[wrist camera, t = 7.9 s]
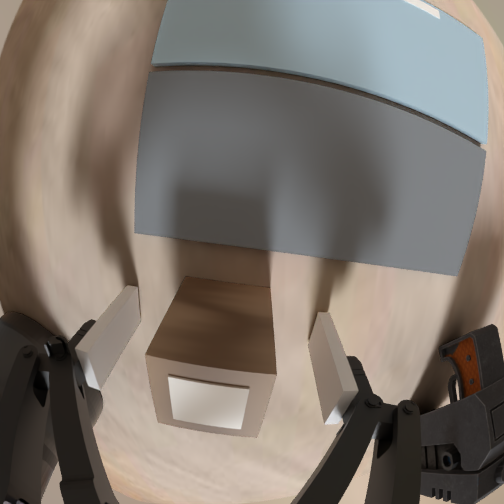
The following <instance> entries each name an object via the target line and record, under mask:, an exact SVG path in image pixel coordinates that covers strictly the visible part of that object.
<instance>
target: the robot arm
mask: <svg viewBox="0 0 504 504" xmlns="http://www.w3.org/2000/svg"><path fill="white" fill-rule="evenodd" d="M140 322H141V319H140V309H139V297H138V287H135V286H130V285H127V286H126V287H125V288H124V289H123V291H122V292H121V293H120V294H119V295H118V296H117V297H116V299H115V300H114V301H113V302H112V303H111V304H110V306H109V307H108V308H107V309H106V310H105V312H104V313H103V314H102V315H101V316H100V318H99V319H98V320H97V321H95V320H92V319H91V320H89V321H88V322H86V323H84V324H83V325H82V327H81V328H80V330H78V331H77V333H76V334H75V335H74V336H73V337H72V339H71V340H70V341H69V342H68V343H67V340H66V339H65V338H64V337H62V336H57V335H55V336H53V335H52V334H51V333H50V332H48V331H47V330H46V329H45V328H43V327H42V326H41V325H39V324H38V323H37V322H35V321H34V320H32V319H30V318H28V317H27V316H25V315H22V314H20V313H16V312H8V313H6V314H4V315H3V316H2V317H1V318H0V504H41V499H42V497H43V494H44V492H45V489H46V487H47V485H48V482H49V480H50V477H51V475H52V473H53V471H54V468H55V466H56V464H57V462H58V461H59V466H60V471H61V475H62V481H61V482H60V490H61V494H62V497H63V501H64V504H119V502H118V501H117V499H116V498H115V496H114V493H113V491H112V488H111V486H110V483H109V480H108V478H107V475H106V472H105V469H104V466H103V463H102V460H101V457H100V454H99V450H98V447H97V444H96V440H95V436H94V432H93V426H94V425H95V424H96V422H97V420H98V418H99V416H100V414H101V412H102V409H103V401H102V398H101V395H100V392H99V390H101V388H102V387H103V385H104V383H105V381H106V379H107V378H108V376H109V374H110V372H111V371H112V369H113V367H114V365H115V364H116V362H117V360H118V359H119V357H120V355H121V354H122V352H123V350H124V348H125V347H126V345H127V343H128V342H129V340H130V338H131V337H132V335H133V334H134V332H135V330H136V329H137V327H138V325H139V324H140ZM308 348H309V352H310V357H311V362H312V366H313V371H314V376H315V380H316V385H317V390H318V395H319V400H320V405H321V410H322V415H323V420H324V424H338V423H339V422H340V420H341V419H342V418H343V422H344V424H343V426H342V427H341V429H340V430H339V431H338V433H337V434H336V435H337V436H336V438H335V439H334V441H333V443H332V444H331V446H330V448H329V449H328V451H327V453H326V454H325V456H324V457H323V459H322V460H321V462H320V463H319V465H318V467H317V468H316V470H315V471H314V472H313V474H312V475H311V477H310V478H309V480H308V481H307V482H306V484H305V485H304V487H303V488H302V489H301V491H300V492H299V493H298V495H297V496H296V497H295V499H294V500H293V501H292V503H291V504H338V503H339V501H340V500H341V498H342V496H343V494H344V493H345V491H346V489H347V487H348V486H349V484H350V482H351V480H352V478H353V476H354V474H355V472H356V471H357V469H358V467H359V465H360V462H361V460H362V458H363V456H364V454H365V452H366V450H367V447H368V445H369V443H370V441H371V439H375V443H374V451H373V459H372V466H371V472H370V478H369V484H368V489H367V494H366V499H365V504H419V501H420V488H421V425H420V411H419V407H418V406H417V405H416V403H414V402H413V401H410V400H403V401H401V402H400V403H399V404H398V405H391V404H386V403H383V400H382V399H381V398H380V397H379V396H377V395H376V394H373V392H372V389H371V386H370V384H369V381H368V379H367V376H365V371H364V370H363V367H362V364H361V362H360V361H359V360H358V359H357V358H356V357H355V356H346V354H345V351H344V349H343V346H342V344H341V341H340V338H339V336H338V333H337V330H336V328H335V325H334V323H333V320H332V318H331V315H330V313H326V312H318V314H317V318H316V321H315V324H314V327H313V331H312V334H311V337H310V340H309V343H308Z"/></svg>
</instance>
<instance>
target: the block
mask: <svg viewBox="0 0 504 504" xmlns="http://www.w3.org/2000/svg"><path fill="white" fill-rule="evenodd" d="M145 358H146V364H147V370H148V376H149V382H150V387H151V393H152V398H153V402H154V407H155V412H156V416H157V420H158V423H162V424H167V425H171V426H176V427H181V428H186V429H191V430H197V431H203V432H209V433H216V434H224V435H232V436H242V437H254V438H257V437H258V434H259V431H260V428H261V425H262V422H263V419H264V415H265V412H266V409H267V406H268V403H269V399H270V396H271V393H272V389H273V386H274V383H275V379H276V376H277V371H276V356H275V342H274V328H273V315H272V302H271V289H270V288H268V287H260V286H252V285H245V284H237V283H229V282H222V281H215V280H208V279H201V278H194V277H187V276H186V277H185V279H184V281H183V283H182V285H181V286H180V288H179V290H178V292H177V294H176V296H175V298H174V299H173V301H172V303H171V305H170V307H169V309H168V311H167V313H166V314H165V316H164V318H163V320H162V322H161V324H160V326H159V328H158V330H157V332H156V334H155V336H154V338H153V340H152V342H151V344H150V346H149V348H148V350H147V352H146V354H145Z"/></svg>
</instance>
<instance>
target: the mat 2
mask: <svg viewBox="0 0 504 504" xmlns="http://www.w3.org/2000/svg"><path fill="white" fill-rule="evenodd" d="M485 158H486V151H485V150H484V149H482V148H480V147H479V146H477V145H475V144H473V143H472V142H470V141H468V140H466V139H464V138H462V137H461V136H459V135H457V134H455V133H453V132H451V131H449V130H447V129H445V128H443V127H441V126H439V125H437V124H434V123H432V122H430V121H428V120H425V119H423V118H421V117H418V116H416V115H414V114H411V113H409V112H406V111H404V110H401V109H398V108H396V107H393V106H390V105H388V104H385V103H382V102H379V101H376V100H373V99H370V98H366V97H363V96H360V95H357V94H353V93H350V92H346V91H342V90H338V89H334V88H330V87H326V86H322V85H317V84H313V83H308V82H303V81H298V80H292V79H286V78H280V77H273V76H266V75H258V74H248V73H237V72H223V71H155V72H149V76H148V81H147V87H146V92H145V98H144V105H143V112H142V119H141V127H140V136H139V145H138V156H137V170H136V187H135V233H138V234H145V235H153V236H161V237H169V238H177V239H184V240H192V241H200V242H207V243H215V244H223V245H230V246H238V247H245V248H253V249H261V250H268V251H276V252H283V253H291V254H298V255H306V256H313V257H320V258H328V259H335V260H343V261H350V262H357V263H365V264H372V265H379V266H387V267H394V268H401V269H408V270H416V271H423V272H430V273H437V274H444V275H451V276H458V273H459V270H460V267H461V264H462V261H463V258H464V255H465V252H466V249H467V245H468V242H469V239H470V235H471V231H472V228H473V224H474V220H475V215H476V211H477V207H478V202H479V197H480V192H481V186H482V180H483V173H484V166H485Z"/></svg>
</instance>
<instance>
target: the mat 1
mask: <svg viewBox="0 0 504 504" xmlns="http://www.w3.org/2000/svg"><path fill="white" fill-rule="evenodd" d="M151 64H152V65H153V66H155V67H157V66H185V65H198V66H226V67H240V68H251V69H260V70H268V71H275V72H282V73H288V74H294V75H299V76H304V77H309V78H314V79H319V80H323V81H327V82H331V83H335V84H339V85H343V86H347V87H350V88H354V89H357V90H361V91H364V92H367V93H370V94H373V95H376V96H379V97H382V98H385V99H388V100H391V101H393V102H396V103H399V104H401V105H404V106H406V107H409V108H411V109H414V110H416V111H418V112H421V113H423V114H425V115H427V116H430V117H432V118H434V119H436V120H438V121H440V122H442V123H444V124H446V125H448V126H450V127H452V128H454V129H456V130H458V131H460V132H462V133H464V134H465V135H467V136H469V137H471V138H472V139H474V140H476V141H478V142H479V143H481V144H487V135H488V81H487V68H486V59H485V51H484V44H483V38H481V37H480V36H479V35H477V34H476V33H475V32H473V31H472V30H471V29H469V28H468V27H466V26H465V25H463V24H462V23H461V22H459V21H457V20H456V19H454V18H453V17H451V16H450V15H448V14H446V13H445V12H443V11H441V10H440V9H438V8H436V7H435V6H433V5H431V4H429V3H427V2H426V1H424V0H168V1H167V4H166V7H165V11H164V14H163V17H162V21H161V24H160V28H159V32H158V36H157V40H156V44H155V48H154V52H153V56H152V61H151Z"/></svg>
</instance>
